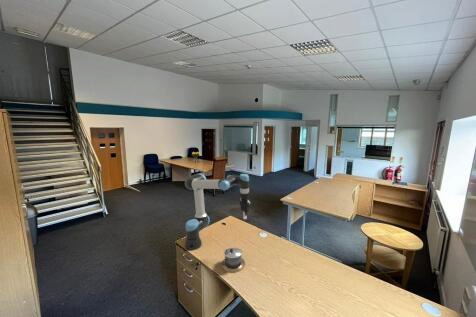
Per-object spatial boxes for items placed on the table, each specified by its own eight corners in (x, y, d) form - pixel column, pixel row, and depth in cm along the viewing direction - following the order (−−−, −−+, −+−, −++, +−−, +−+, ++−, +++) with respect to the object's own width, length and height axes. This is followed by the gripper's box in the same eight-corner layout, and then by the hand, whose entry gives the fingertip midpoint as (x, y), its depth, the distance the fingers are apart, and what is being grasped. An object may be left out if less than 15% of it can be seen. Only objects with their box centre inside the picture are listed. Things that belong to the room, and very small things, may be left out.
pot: (216, 263, 169) (216, 254, 167) (234, 253, 181) (234, 244, 180) (231, 276, 155) (231, 266, 153) (250, 264, 167) (249, 254, 166)
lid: (220, 253, 167) (220, 250, 167) (233, 246, 176) (233, 243, 176) (232, 261, 156) (231, 257, 156) (245, 253, 165) (245, 250, 165)
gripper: (236, 191, 178) (236, 217, 182) (246, 195, 168) (247, 222, 173) (242, 189, 183) (243, 214, 187) (253, 193, 173) (253, 219, 177)
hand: (245, 218), depth 180 cm, fingers closed
